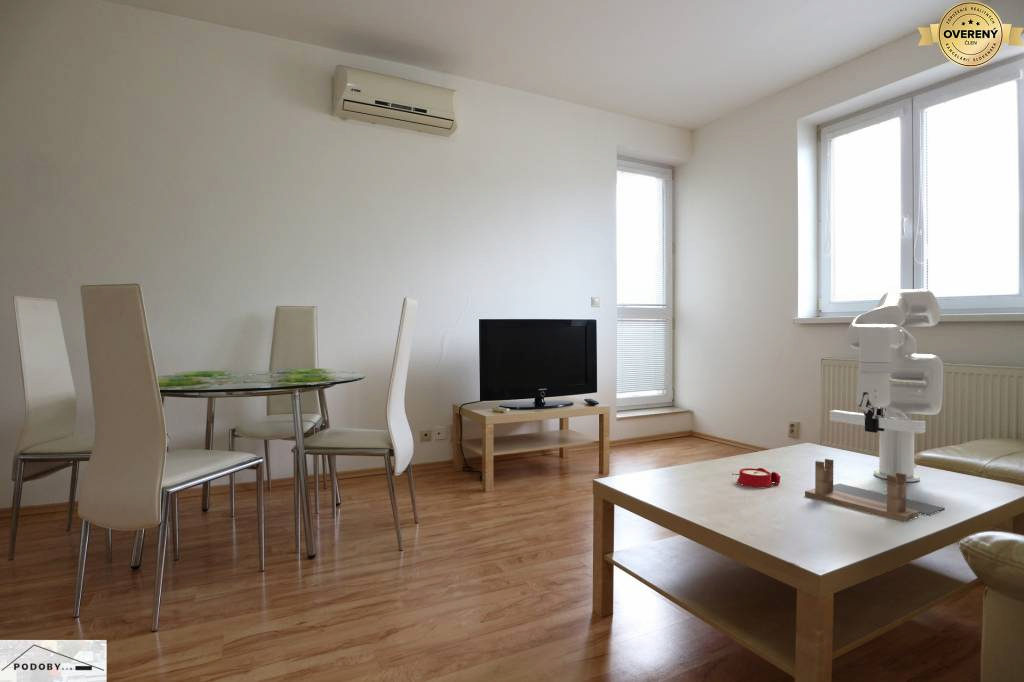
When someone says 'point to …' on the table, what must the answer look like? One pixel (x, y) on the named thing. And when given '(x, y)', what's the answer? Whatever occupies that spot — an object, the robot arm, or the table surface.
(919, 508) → the rubber mat
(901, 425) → the steel rail
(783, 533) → the table surface
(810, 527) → the table surface
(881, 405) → the robot arm
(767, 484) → the alarm clock
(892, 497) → the walnut rail stand
